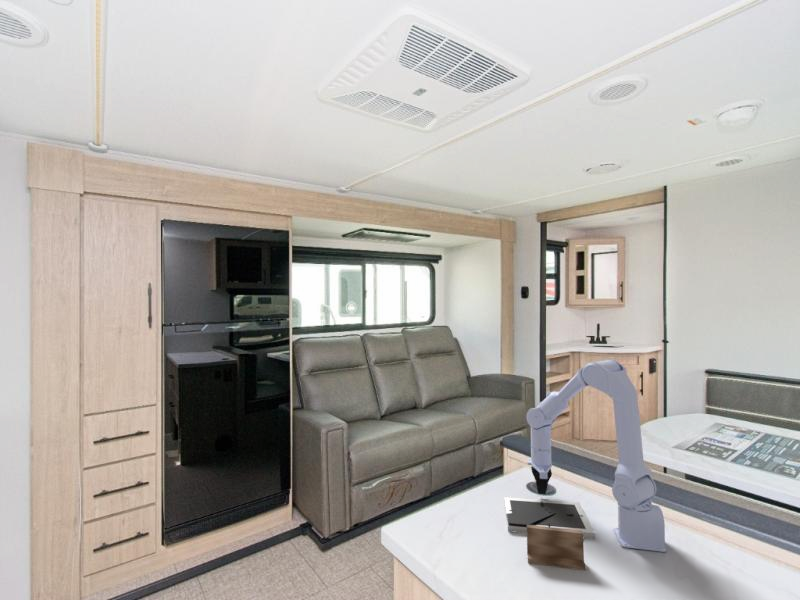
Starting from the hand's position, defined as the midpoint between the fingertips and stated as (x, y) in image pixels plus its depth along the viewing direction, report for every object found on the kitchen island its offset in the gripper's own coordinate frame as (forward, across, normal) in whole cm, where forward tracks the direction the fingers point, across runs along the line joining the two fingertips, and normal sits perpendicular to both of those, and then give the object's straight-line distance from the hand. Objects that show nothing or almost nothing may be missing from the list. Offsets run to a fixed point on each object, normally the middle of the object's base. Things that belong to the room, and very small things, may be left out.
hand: (541, 493), depth 122 cm
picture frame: (+2, +12, 0) cm, 12 cm away
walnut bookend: (+1, +31, 0) cm, 31 cm away
